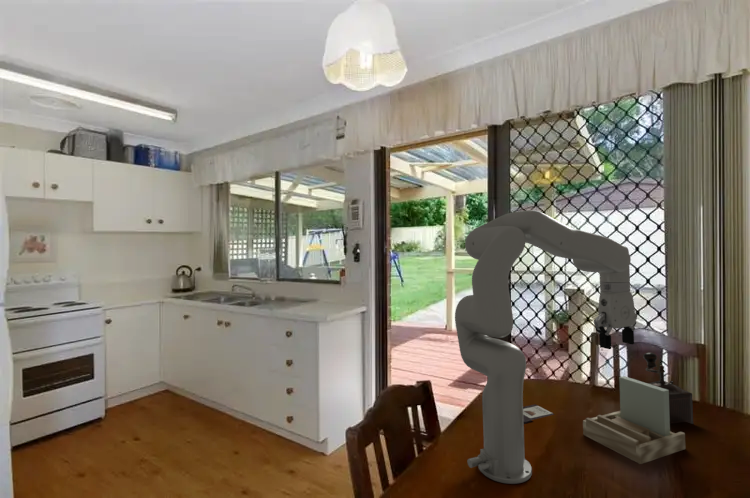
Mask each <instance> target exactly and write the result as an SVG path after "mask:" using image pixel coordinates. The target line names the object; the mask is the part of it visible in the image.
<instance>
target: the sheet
mask: <svg viewBox="0 0 750 498" xmlns="http://www.w3.org/2000/svg"><path fill="white" fill-rule="evenodd" d="M618 379H619V407H620V409H619V411H620V414H621V418H623V419H625V420H627V421H630V422H632V423H634V424H637V425H639V426H642V427H645V428H647V429H649V430H651V431H653V432H656V433H658V434H660V435H663V436H669V435H670V431H671V424H670V416H669V390H667V389H664V388H660V387H657V386H654V385H651V384H648V383H649V382H644V381H641V380H639V379H635V378H631V377H629V376H625V375H623V376H619V377H618Z"/></svg>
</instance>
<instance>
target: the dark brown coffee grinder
mask: <svg viewBox="0 0 750 498" xmlns="http://www.w3.org/2000/svg"><path fill="white" fill-rule="evenodd" d="M642 358H643V359H644V360H645V362H646V363H647V364H646V368H645V371H647V372H650V373H656V374H659V376H660V377H659V380H657V381H652V382H647V383H648V384H651V385H654V386H657V387H660V388H664V389H667V390H669V416H670V425H671V424H677V423H678V424H679V423H688V424H691V425H694V423H695V422H694V413H693V412H694V411H693V410H694V406H693V393H692V392H689V391H687V390H685V389H683V388H681V387H680V386H679V385H675V384H674V381H673V380H670V381H669V382H667V381H666V380H665V373H666V370H665V366H664V365H659V366H658V365H657V363H656V362H657V360H658V355H657V354H656V353H653V352H645V353H644V354H643V356H642ZM656 367H658V368H659V369H658V370H656V369H654V368H656Z"/></svg>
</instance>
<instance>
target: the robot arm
mask: <svg viewBox="0 0 750 498" xmlns="http://www.w3.org/2000/svg"><path fill="white" fill-rule="evenodd" d="M464 243H465V244H464V246H465V247H464V248H465V251H466V252H467V254H468V255H469V256H470V257H471V258H472V259H475V260H477V262H476V264H475V266H474V267H473V272H472V275H471V286H472V287H471V289H472V294H470V295H466V296H464V297H463V298H461V299H460V300H459V302H458V303H457V305H456V307H455V312H454V320H455V321H454V322H455V328H456V335H457V341H458V346H459V347H458V348H459V352H460V356H461V360H462V361H463V363H464V364H465V365H466V366H467V367H468V368H469V369H472V371H473V370H474V371H475V372H478V373H480V374H482V375H484V376H486V377H487V380H486V381H487V382H486V384H485V386H484V388H483V390H482V396H481V398H482V401H481V403H482V426H483V427H482V428H483V448H480V449H479V451H480V453H479V454H478V455H477V456H474V457H470V458H467V462H466V463H467V466H468V467H469V468H471V469H472V468H475V467H478V470H479V471H480V472H481V473H482V474H483V475H484V476H485V477H487V478H488V479H490V480H492V481H495V482H498V483H502V484H509V485H510V484H511V485H516V484H517V485H518V484H521V483H525V482H527V481H528V480H529V479H530V478H531V476H532V475H533V467H532V466H531V463H530V462H529V461H528V460H527V459H526V458H525V427H524V425H525V424H524V422H523V407H524V401H523V400H524V399H523V398H524V393H523V391H524V381H525V375H526V369H527V361H526V360H527V359H526V356H525V354H524V352H523V350H521V349H520V348H519V346H516V345H515V344H513V343H510V342H509V341H505V340H502V339H499V338H505V337H507V336H509V335H510V334H511V332H512V331H513V328H514V315H513V310H512V309H513V308H512V302H511V301H512V300H511V295H510V289H509V287H510V286H509V276H510V271H511V269H512V267H513V265H514V264H515V262H516V261H517V260H518V258H519V257H520V256H521V255H522V253H523V251H524V249H525V248H526V247H525V246H526V244H529V245H531V246H534V247H535V248H538V249H539V250H542V251H544V252H546V253H548V254H550V255H551V256H554V257H559V258H563V259H566V260H567V259H569V260H572V263H573V265H574V267H575V268H576V269H577V270H579V271H582V272H585V273H599V298H598V313H597V314H598V316H597V317H595V319H593V324H594V327H595V330H596V331H597V333H598V337H599V347H600V348H603V349H605V350H606V349H607V350H612V335H610V333H611V331H612V329H621V328H622V329H621V339H622V340H621V342H622V343H623V344H629V345H634V344H635V330H636V325H637V318H638V314H637V313H636V309H635V302H634V297H633V294H632V291H631V275H630V273H631V272H630V265H631V260H632V259H631V255H630V252H629V251H630V250H629V248H628V247H627V246H625V245H622V244H621V243H619V242H617V241H616V240H614V239H611V238H609V237H606V236H604V235H600V234H596V233H592V232H588V231H584V230H580V229H578V228H572V227H569V226H567V225H566V224H564V223H562V222H560V221H558V220H556V219H555V218H553V217H551V216H549V215H547V214H546V213H543V212H541V211H540V210H533V209H530V210H523V211H515V212H508V213H505V214H503V215H501V216H499V217H498V216H497V217H496V218H494V219H492V220H491V221H488V222H486V223H484V224H481V225H480V226H477V227H475V228H474V229H472V230H471V231H470V232H468V234H467V236H466V238H465V241H464ZM605 328H606V329H605Z"/></svg>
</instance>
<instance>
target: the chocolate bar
mask: <svg viewBox="0 0 750 498" xmlns="http://www.w3.org/2000/svg"><path fill="white" fill-rule="evenodd" d="M553 415H555V413H553V412H551V411H549V410H547V409H545V408H543V407H542V406H539V405H537V404H530V405H525V406H523V422H524V425H525V424H529V423H534V421H533V420H537V419H542V418H545V417H550V416H553Z"/></svg>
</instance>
